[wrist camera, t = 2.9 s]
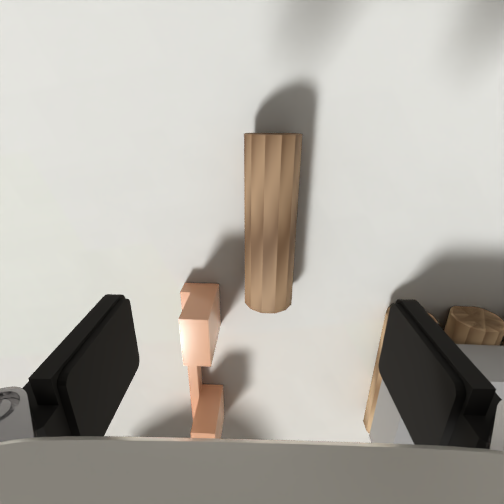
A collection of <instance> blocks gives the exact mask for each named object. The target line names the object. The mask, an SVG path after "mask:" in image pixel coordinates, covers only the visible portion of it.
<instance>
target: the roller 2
mask: <svg viewBox="0 0 504 504" xmlns="http://www.w3.org/2000/svg"><path fill="white" fill-rule="evenodd" d="M389 310H390V307H388V309H387V312H386V315H385V320H384V325H383V329H382V334H381V339H380V344H379V348H378V353H377V358H376V363H375V367H374V372H373V377H372V382H371V387H370V391H369V396H368V401H367V406H366V410H365V415H364V420H363V422H364V425H365V428H366V430H367V432H368V433H369V434H370V430H371V425H372V421H373V417H374V412H375V408H376V403H377V399H378V394H379V390H380V386H381V381H382V377H381V375H380V373H379V367H378V364H379V359H380V354H381V349H382V344H383V339H384V334H385V329H386V325H387V320H388V315H389ZM427 313H428V312H427ZM428 314H429V315H430V316H431V317H432V318H433V319H434V321H435V322H436V323H438V321H437V320H436V319H435V318H434V317H433V316H432V314H430V313H428Z"/></svg>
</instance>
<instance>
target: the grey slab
mask: <svg viewBox="0 0 504 504" xmlns="http://www.w3.org/2000/svg"><path fill="white" fill-rule="evenodd" d="M456 345H457V346H458V347H459V348H460V349H461V350H462V352H463V353H464V354H465V355H466V356H467V357H468V358H469V359H470V360H471V361H472V363H473V364H474V365H475V366H476V367H477V368H478V369H479V370H480V371H481V373H482V374H483V375H484V376H485V377H486V378H487V379H488V380H489V381H490V383H491V384H492V385H493V386H494V387H495V388H496V391H495V392H496V394H497V395H498V396H499V397H500V398H501V399H502V400H503V399H504V346H499V345H470V344H456ZM369 437H370V440H371V443H392V444H414V443H413V441H412V439H411V437H410V435H409V432H408V430H407V428H406V426H405V424H404V422H403V420H402V418H401V416H400V414H399V412H398V410H397V408H396V406H395V404H394V402H393V400H392V398H391V396H390V393H389V391H388V389H387V387H386V385H385V383H384V381H383V379H382V381H381V386H380V390H379V394H378V399H377V403H376V408H375V412H374V417H373V421H372V425H371V430H370V434H369Z"/></svg>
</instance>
